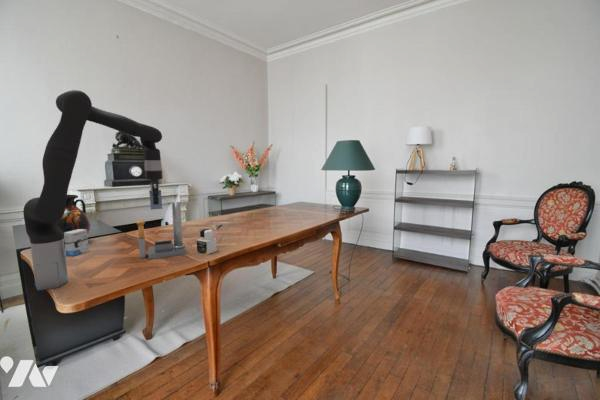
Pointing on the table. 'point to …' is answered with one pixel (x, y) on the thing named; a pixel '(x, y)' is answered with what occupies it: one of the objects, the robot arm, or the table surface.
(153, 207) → the blue-grey rectangular block
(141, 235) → the wedge pin
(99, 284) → the table surface
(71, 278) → the table surface
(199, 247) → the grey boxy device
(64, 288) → the table surface
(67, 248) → the ink box
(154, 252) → the grey base with post
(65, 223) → the amphora vase
